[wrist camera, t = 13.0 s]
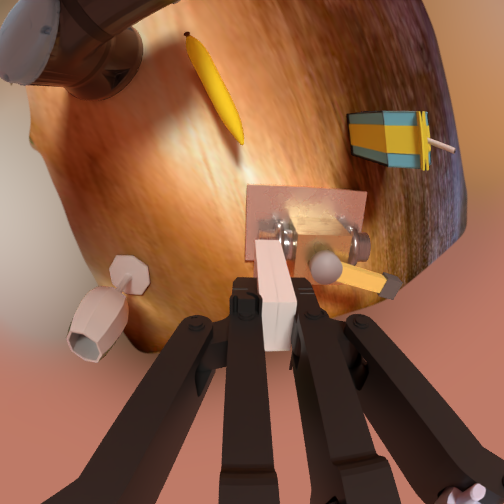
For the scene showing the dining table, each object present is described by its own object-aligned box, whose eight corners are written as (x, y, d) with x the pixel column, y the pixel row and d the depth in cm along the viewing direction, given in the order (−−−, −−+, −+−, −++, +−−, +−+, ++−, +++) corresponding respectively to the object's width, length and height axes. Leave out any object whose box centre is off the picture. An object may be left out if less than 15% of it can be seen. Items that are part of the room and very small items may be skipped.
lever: (304, 273, 40) (306, 280, 38) (316, 246, 39) (319, 252, 37) (386, 296, 43) (391, 303, 41) (399, 273, 41) (404, 279, 39)
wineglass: (147, 298, 54) (111, 377, 34) (108, 284, 52) (60, 354, 33) (155, 261, 50) (112, 337, 31) (113, 247, 49) (55, 312, 30)
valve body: (245, 257, 50) (245, 286, 41) (247, 183, 45) (247, 198, 36) (353, 259, 51) (373, 286, 42) (364, 190, 45) (390, 206, 37)
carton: (392, 153, 43) (457, 173, 26) (351, 156, 43) (407, 176, 27) (387, 111, 40) (454, 112, 23) (346, 112, 40) (402, 108, 24)
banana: (234, 147, 42) (232, 150, 37) (184, 47, 35) (175, 36, 29) (251, 139, 42) (252, 141, 36) (201, 39, 35) (194, 27, 29)
